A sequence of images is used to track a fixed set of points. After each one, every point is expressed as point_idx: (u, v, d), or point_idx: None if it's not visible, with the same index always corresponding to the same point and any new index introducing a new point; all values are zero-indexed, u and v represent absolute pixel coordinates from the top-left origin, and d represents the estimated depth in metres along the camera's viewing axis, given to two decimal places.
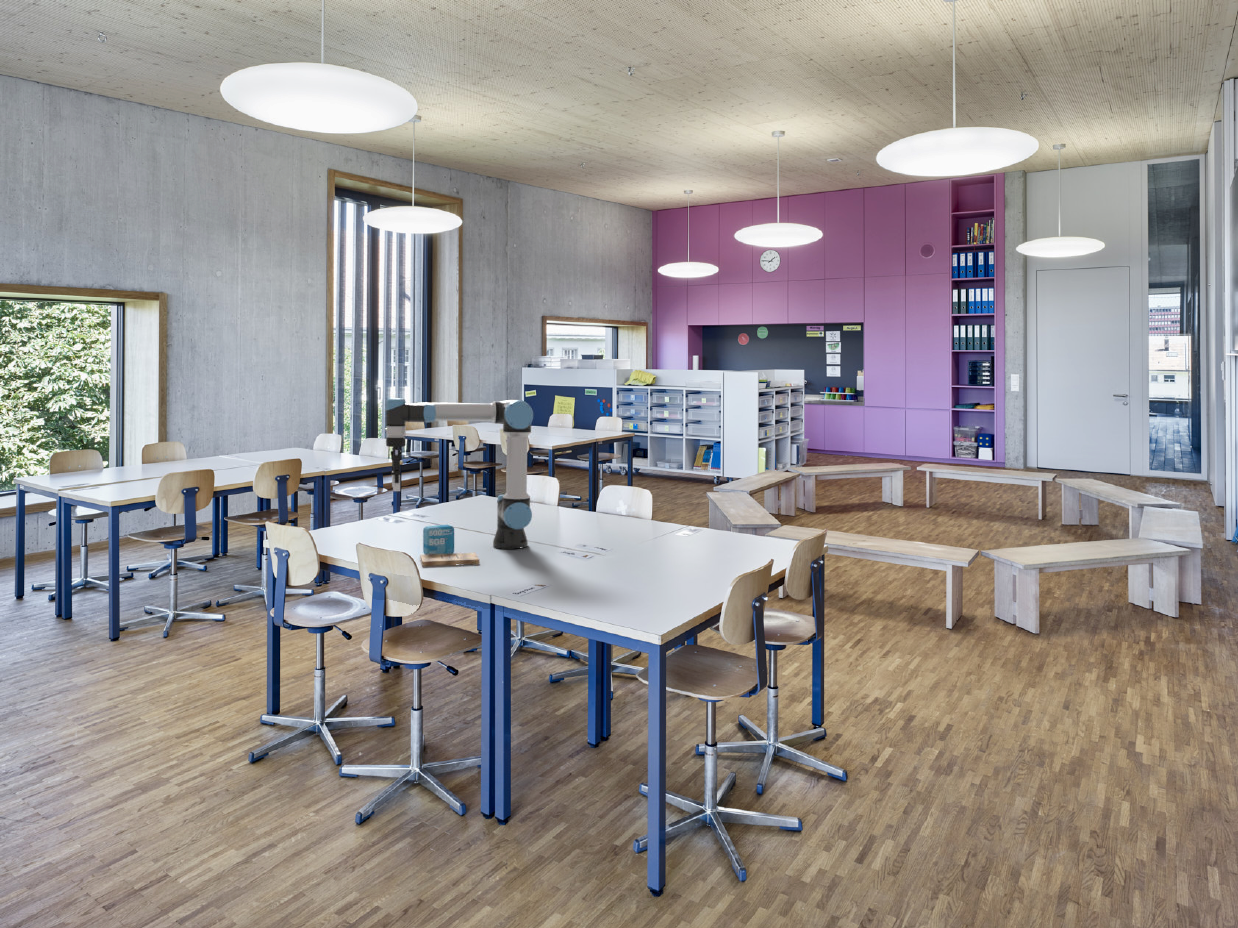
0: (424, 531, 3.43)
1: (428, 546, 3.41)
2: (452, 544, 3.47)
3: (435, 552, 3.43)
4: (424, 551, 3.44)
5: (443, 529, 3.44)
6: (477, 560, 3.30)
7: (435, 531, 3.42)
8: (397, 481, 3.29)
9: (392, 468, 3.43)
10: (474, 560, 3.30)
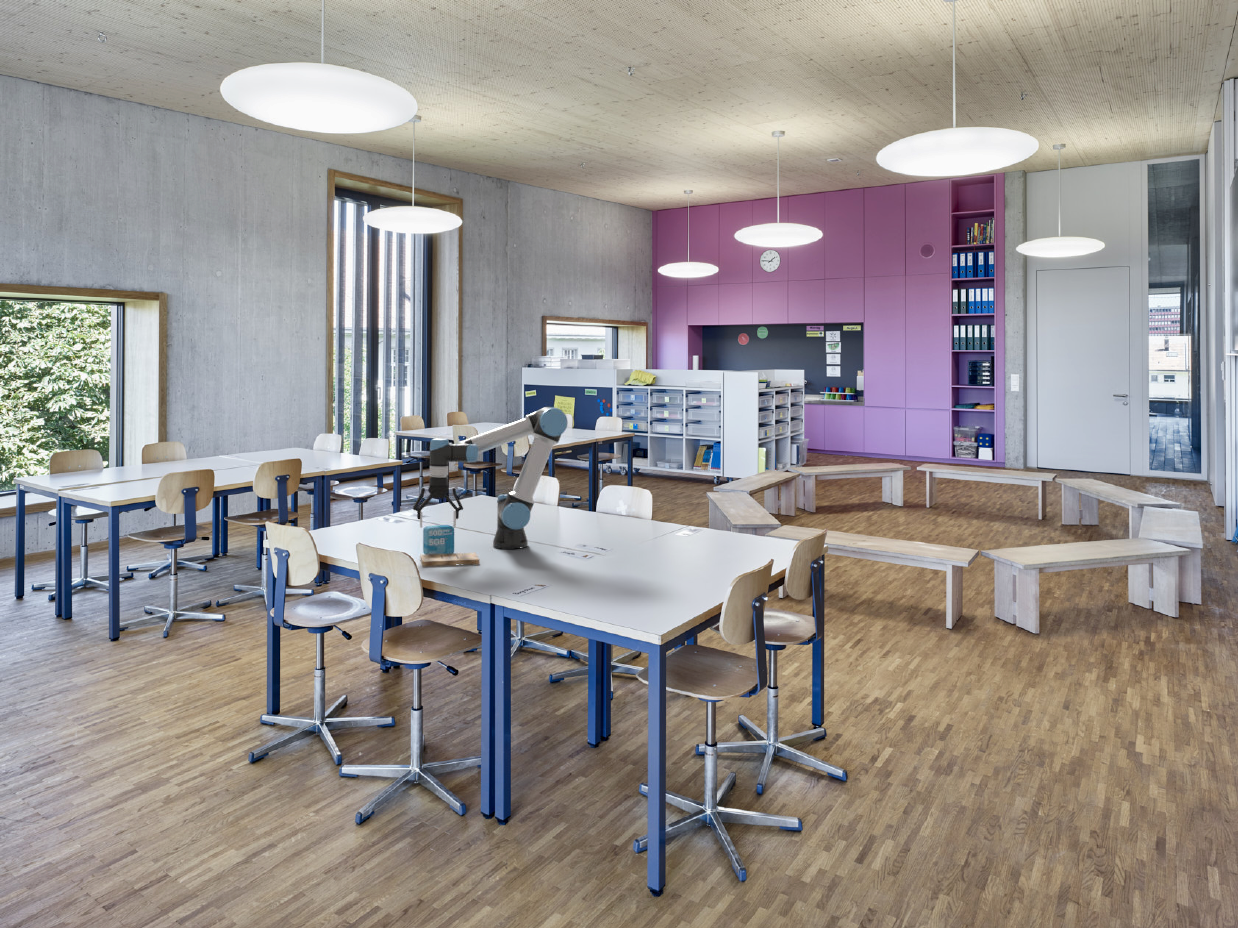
0: (424, 531, 3.43)
1: (428, 546, 3.41)
2: (452, 544, 3.47)
3: (435, 552, 3.43)
4: (424, 551, 3.44)
5: (443, 529, 3.44)
6: (477, 560, 3.30)
7: (435, 531, 3.42)
8: (417, 517, 3.42)
9: None
10: (474, 560, 3.30)
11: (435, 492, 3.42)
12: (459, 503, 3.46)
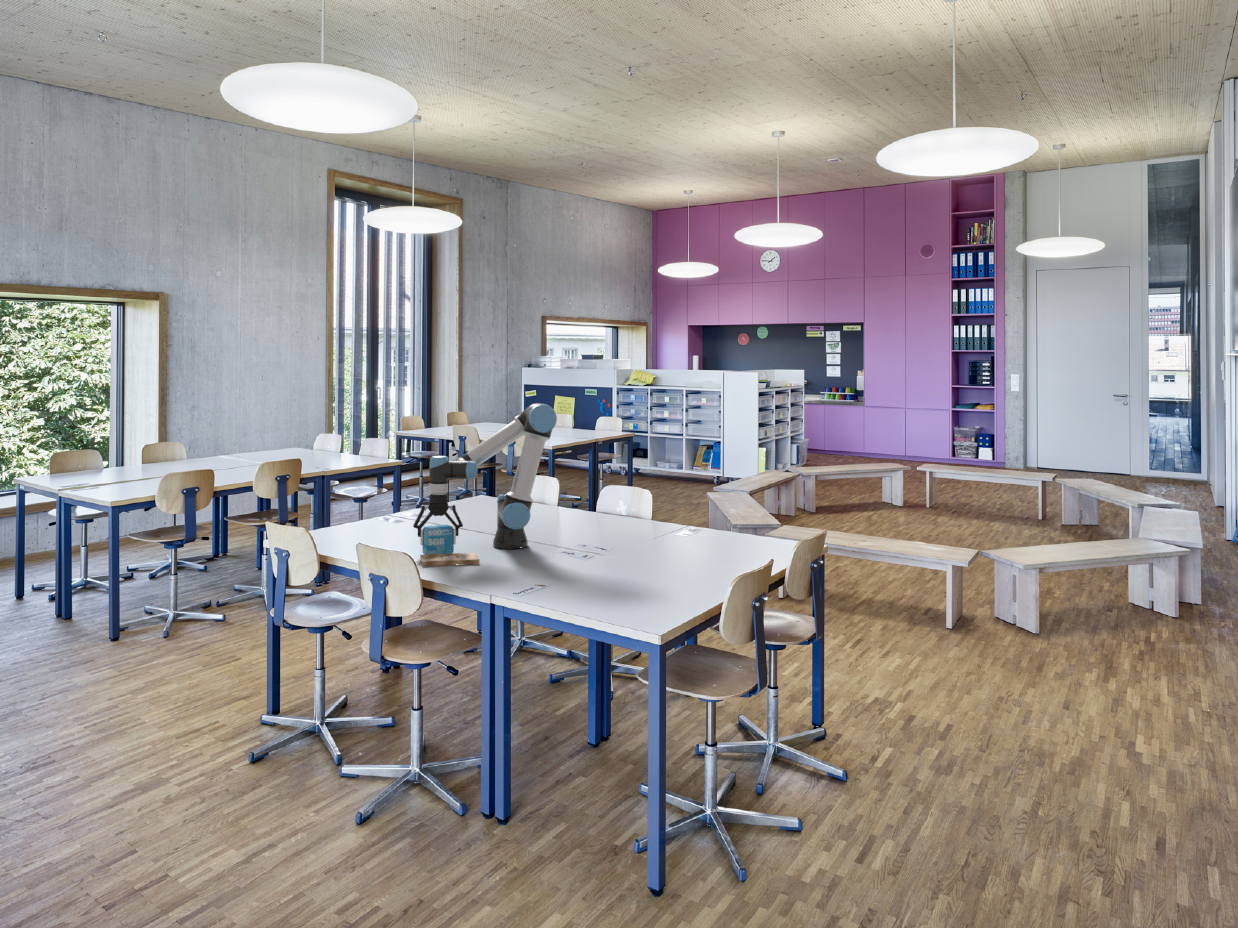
0: (423, 531, 3.43)
1: (427, 546, 3.41)
2: (451, 544, 3.47)
3: (434, 552, 3.43)
4: (423, 551, 3.43)
5: (442, 529, 3.44)
6: (477, 560, 3.30)
7: (435, 531, 3.42)
8: None
9: None
10: (474, 560, 3.30)
11: (435, 509, 3.42)
12: (459, 520, 3.46)
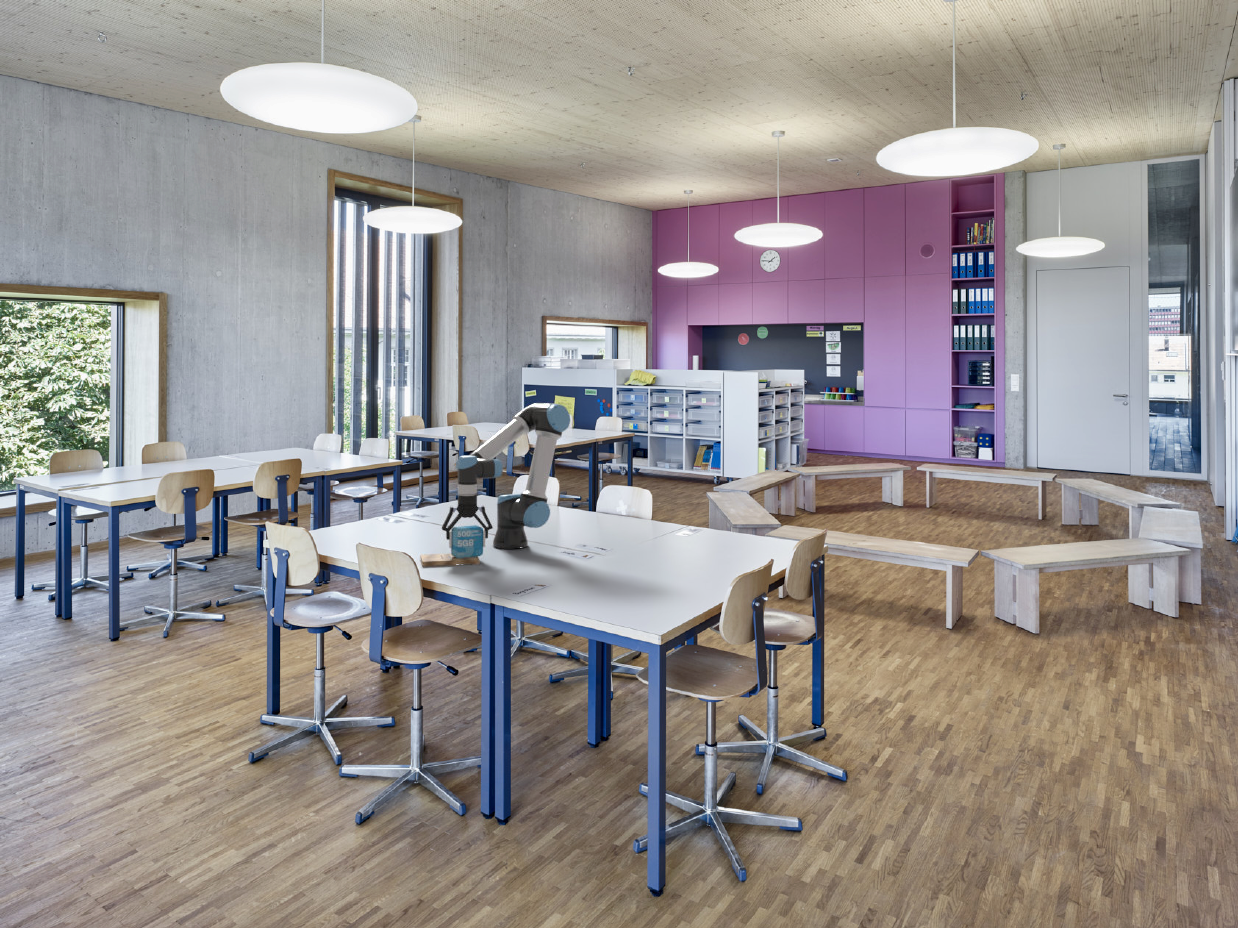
0: (452, 532, 3.31)
1: (456, 547, 3.29)
2: (481, 545, 3.35)
3: (463, 554, 3.32)
4: (452, 553, 3.32)
5: (472, 530, 3.33)
6: (477, 560, 3.30)
7: (464, 531, 3.31)
8: (446, 537, 3.31)
9: None
10: (474, 560, 3.30)
11: (464, 511, 3.31)
12: (488, 522, 3.35)
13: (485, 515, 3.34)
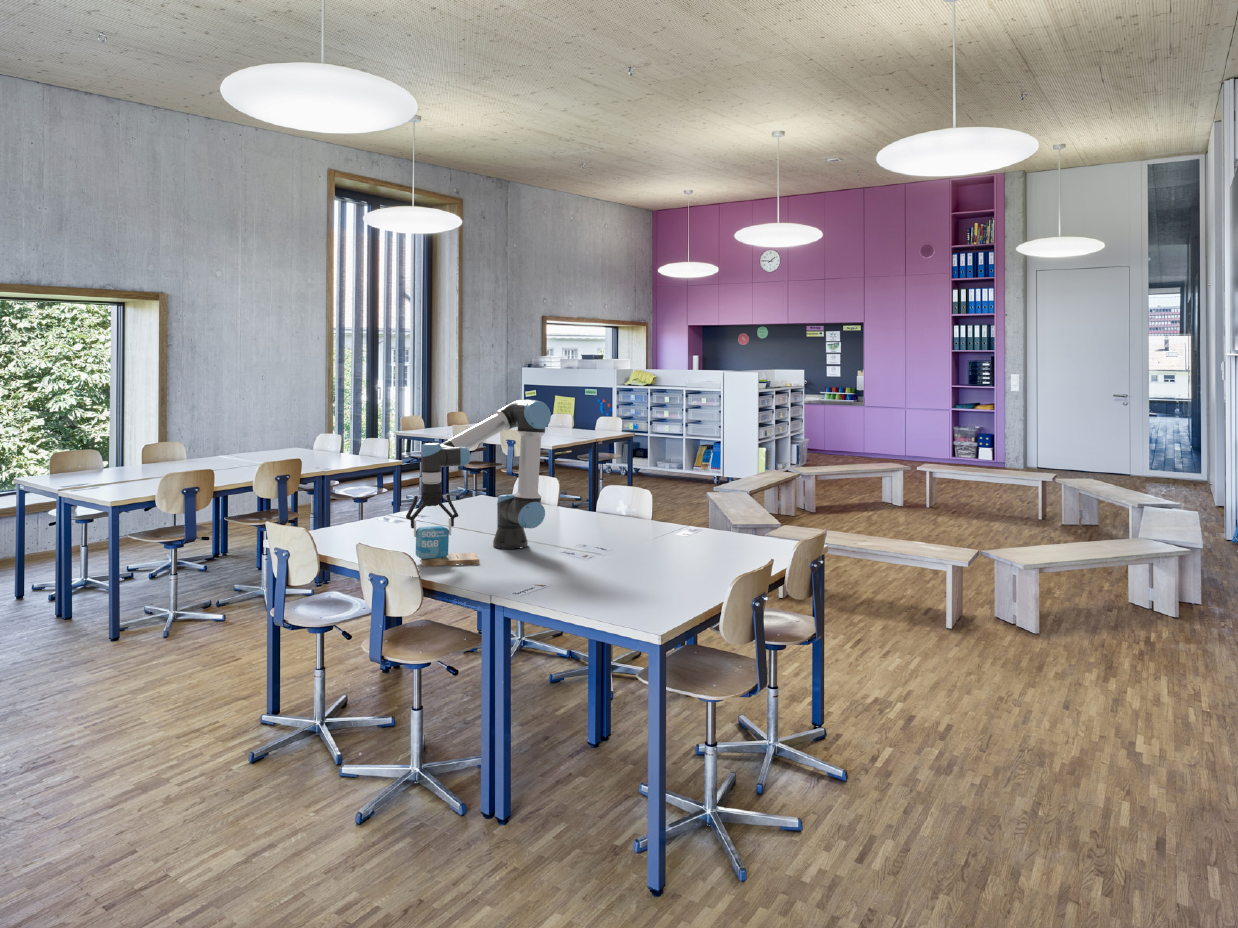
0: (417, 532, 3.27)
1: (420, 548, 3.26)
2: (446, 547, 3.31)
3: (428, 554, 3.28)
4: (416, 553, 3.28)
5: (437, 531, 3.29)
6: (477, 560, 3.30)
7: (429, 532, 3.27)
8: None
9: None
10: (474, 560, 3.30)
11: (428, 499, 3.26)
12: (454, 510, 3.31)
13: (450, 503, 3.30)
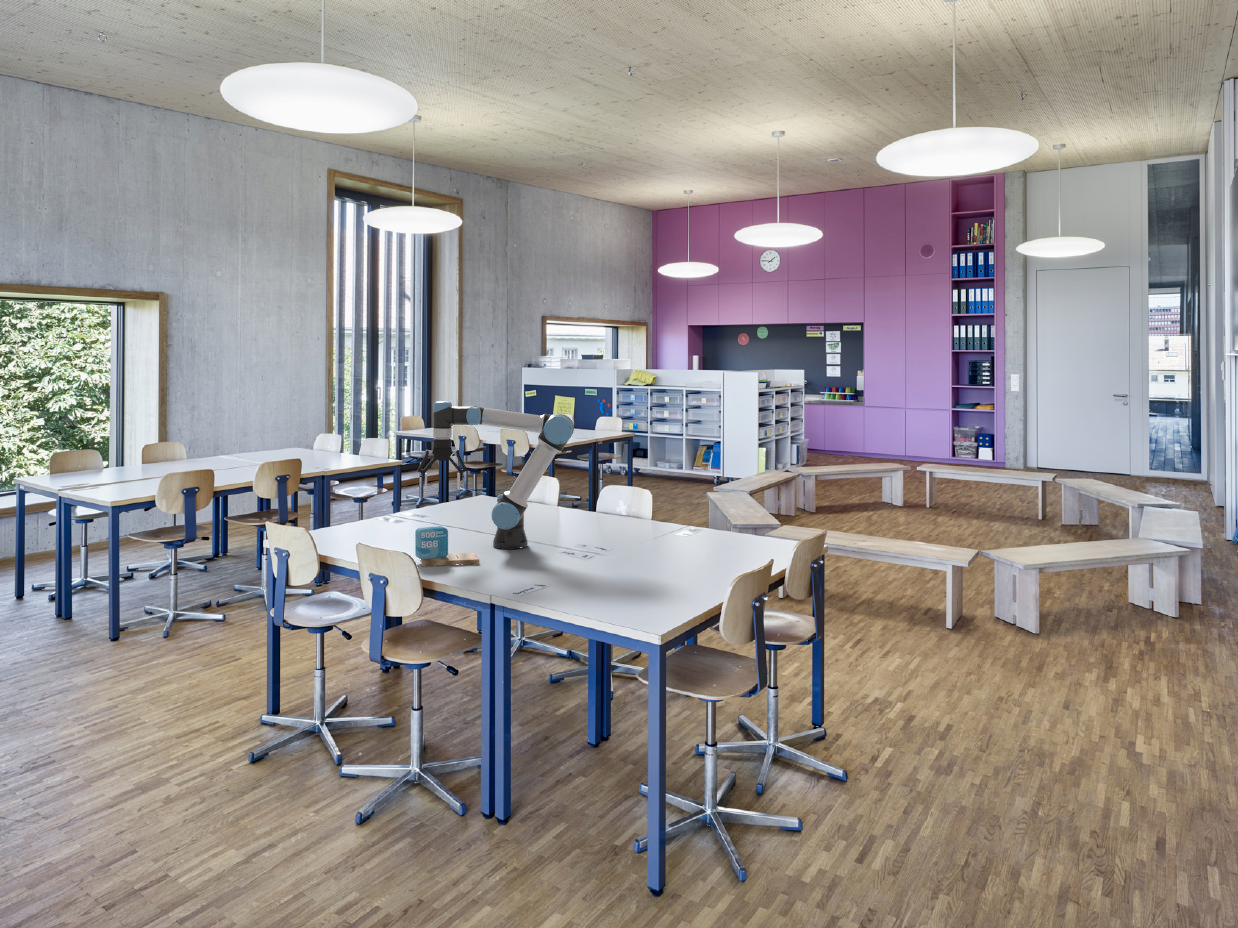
0: (416, 533, 3.27)
1: (420, 548, 3.26)
2: (446, 547, 3.31)
3: (428, 555, 3.28)
4: (416, 554, 3.28)
5: (436, 531, 3.29)
6: (477, 560, 3.30)
7: (428, 533, 3.27)
8: (422, 479, 3.48)
9: None
10: (474, 560, 3.30)
11: (439, 454, 3.47)
12: (463, 465, 3.51)
13: (459, 458, 3.51)
